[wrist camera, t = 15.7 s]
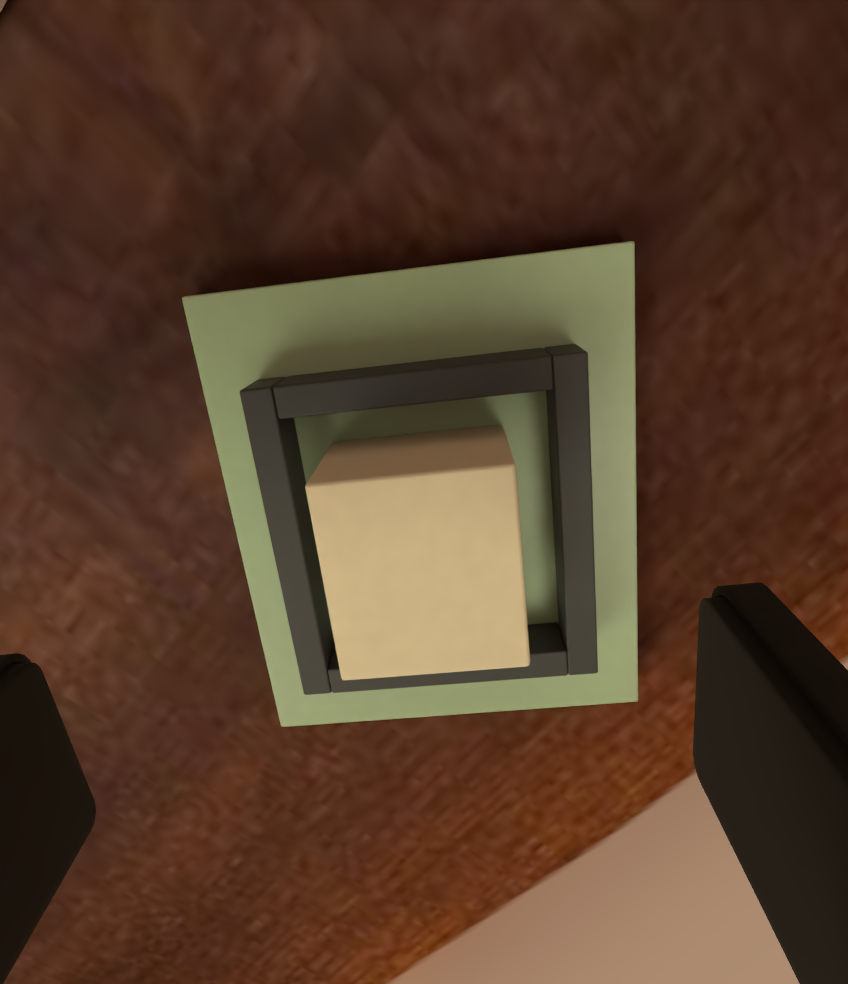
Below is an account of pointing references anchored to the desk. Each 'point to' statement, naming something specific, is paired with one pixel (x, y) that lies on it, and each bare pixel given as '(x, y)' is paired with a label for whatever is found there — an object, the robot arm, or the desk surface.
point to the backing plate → (427, 408)
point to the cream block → (421, 553)
